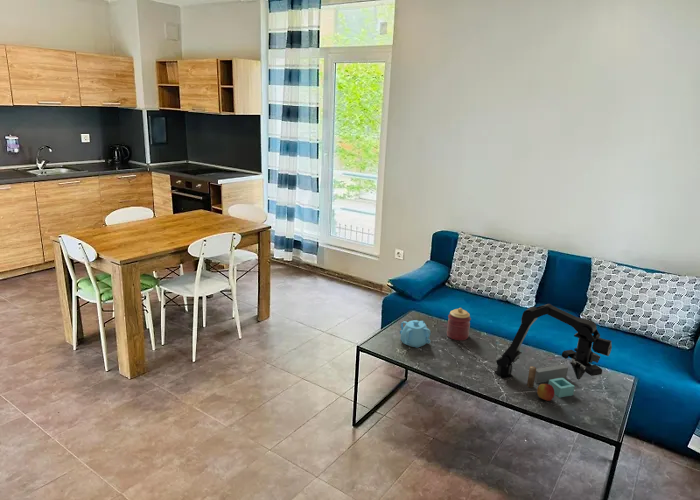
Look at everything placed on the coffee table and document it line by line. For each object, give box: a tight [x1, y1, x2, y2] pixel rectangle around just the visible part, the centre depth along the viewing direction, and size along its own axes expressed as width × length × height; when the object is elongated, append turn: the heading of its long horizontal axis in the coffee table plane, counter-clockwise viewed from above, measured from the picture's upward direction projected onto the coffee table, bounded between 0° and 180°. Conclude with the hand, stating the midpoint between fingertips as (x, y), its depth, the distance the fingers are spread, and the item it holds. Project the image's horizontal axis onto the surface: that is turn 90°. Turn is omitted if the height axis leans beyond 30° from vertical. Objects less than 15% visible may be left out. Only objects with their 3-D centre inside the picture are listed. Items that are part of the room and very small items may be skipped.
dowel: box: [526, 365, 537, 389], centre depth 238 cm, size 3×3×10 cm
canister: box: [446, 307, 472, 341], centre depth 287 cm, size 13×13×18 cm
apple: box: [536, 383, 555, 402], centre depth 227 cm, size 8×8×8 cm
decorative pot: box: [399, 319, 432, 349], centre depth 277 cm, size 16×16×14 cm
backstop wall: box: [534, 364, 569, 384], centre depth 245 cm, size 18×3×6 cm, turn 109°
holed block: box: [547, 378, 575, 399], centre depth 235 cm, size 8×8×5 cm
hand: (578, 379), depth 224 cm, fingers closed
